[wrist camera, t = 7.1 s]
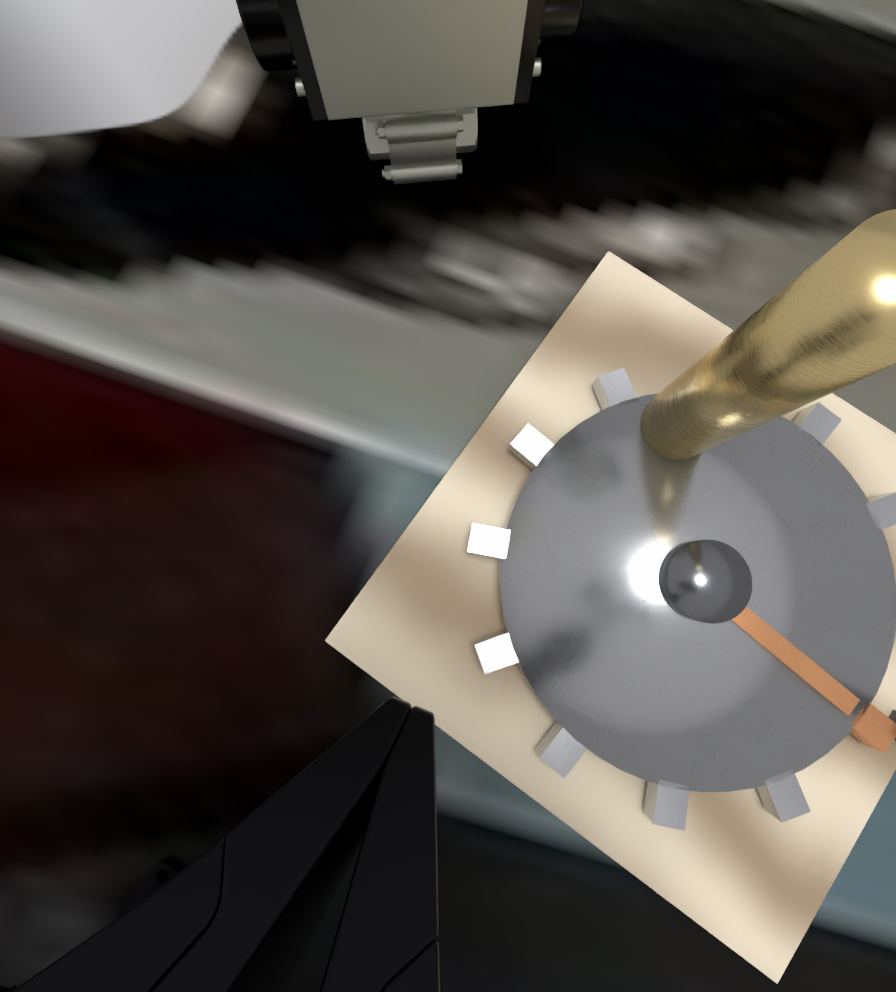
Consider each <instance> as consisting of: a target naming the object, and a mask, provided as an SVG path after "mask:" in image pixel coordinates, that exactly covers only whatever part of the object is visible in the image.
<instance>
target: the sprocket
mask: <svg viewBox="0 0 896 992" xmlns="http://www.w3.org/2000/svg"><path fill="white" fill-rule="evenodd" d="M894 364H896V209H895V210H889V211H885V212H881V213H879V214H877V215H874V216H872V217H871V218H869V219H867V220H866V221H864V222H863V223H862V224H861V225H859V226H858V227H857V228H856V229H854V230H853V231H852V232H851V233H850V234H849V235H847V236H846V237H845V238H844V239H843V240H841V241H840V242H839V243H838V244H837V245H835V246H834V247H833V248H832V249H831V250H829V251H828V252H827V253H826V254H825V255H823V256H822V257H821V258H820V259H819V260H817V261H816V262H815V263H814V264H813V265H811V266H810V267H809V268H808V269H807V270H805V271H804V272H803V273H802V274H801V275H799V276H798V277H797V278H796V279H795V280H794V281H792V282H791V283H790V284H789V285H788V286H786V287H785V288H784V289H783V290H782V291H780V292H779V293H778V294H777V295H776V296H774V297H773V298H772V299H771V300H770V301H768V302H767V303H766V304H765V305H764V306H762V307H761V308H760V309H759V310H758V311H756V312H755V313H754V314H753V315H752V316H750V317H749V318H748V319H747V320H746V321H744V322H743V323H742V324H741V325H740V326H739V327H737V328H736V329H735V330H734V331H733V332H731V333H730V334H729V335H728V336H727V337H725V338H724V339H723V340H722V341H721V342H719V343H718V344H717V345H716V346H715V347H713V348H712V349H711V350H710V351H709V352H707V353H706V354H705V355H704V356H703V357H701V358H700V359H699V360H698V361H697V362H695V363H694V364H693V365H692V366H691V367H689V368H688V369H687V370H686V371H685V372H684V373H682V374H681V375H680V376H679V377H678V378H676V379H675V380H674V381H673V382H672V383H670V384H669V385H668V386H667V387H666V388H664V389H663V390H662V391H661V392H660V393H657V394H650V395H644V396H641V397H636V394H635V392H634V390H633V387H632V385H631V382H630V380H629V378H628V375H627V373H626V371H625V368H621V369H618V370H615V371H612V372H609V373H606V374H603V375H600V376H598V377H597V378H596V380H595V381H594V382H593V384H592V387H593V389H594V391H595V394H596V396H597V399H598V401H599V404H600V406H601V409H602V410H601V411H600V412H598V413H596V414H594V415H593V416H591V417H589V418H588V419H586V420H584V421H582V422H581V423H579V424H578V425H577V426H576V427H574V428H573V429H572V430H570V431H569V432H568V433H567V434H565V435H564V436H563V437H562V438H561V439H560V440H559V441H558V442H557V443H556V444H555V445H554V444H553V443H552V442H551V441H549V440H548V439H547V438H546V437H545V436H543V435H542V434H541V433H540V432H538V431H537V430H536V429H535V428H534V427H532V426H531V425H530V424H529V423H528V424H527V425H526V426H525V427H524V429H523V430H522V431H521V432H520V433H519V434H518V435H517V437H516V438H515V439H514V440H513V441H512V442H511V444H510V445H509V447H508V449H507V450H509V451H510V452H511V453H512V454H513V455H515V456H516V457H517V458H518V459H519V460H521V461H522V462H523V463H524V464H525V465H527V466H528V467H529V468H530V469H531V470H533V471H532V472H531V473H530V475H529V476H528V477H527V479H526V481H525V482H524V484H523V486H522V488H521V490H520V491H519V493H518V495H517V497H516V499H515V501H514V504H513V506H512V509H511V511H510V514H509V517H508V519H507V522H506V526H505V529H502V528H497V527H492V526H486V525H481V524H476V523H472V525H471V530H470V536H469V541H468V547H467V553H472V554H477V555H483V556H488V557H493V558H498V559H499V568H498V575H499V598H500V604H501V611H502V617H503V622H504V625H505V629H506V630H503V631H501V632H498V633H495V634H492V635H490V636H487V637H484V638H481V639H478V640H476V641H474V644H475V647H476V650H477V653H478V656H479V659H480V662H481V665H482V668H483V670H484V673H485V674H488V673H490V672H493V671H496V670H499V669H501V668H504V667H507V666H510V665H512V664H515V663H518V664H519V666H520V668H521V670H522V672H523V674H524V675H525V677H526V679H527V680H528V682H529V684H530V686H531V687H532V689H533V691H534V692H535V694H536V695H537V696H538V698H539V699H540V700H541V702H542V703H543V704H544V706H545V707H546V708H547V709H548V711H549V712H550V713H551V715H552V716H553V717H554V718H555V720H556V722H555V724H554V725H553V726H552V727H551V729H550V730H549V731H548V732H547V734H546V735H545V736H544V738H543V739H542V740H541V741H540V743H539V744H538V745H537V746H536V750H537V752H538V754H539V756H540V758H541V759H542V760H544V761H545V762H546V763H547V764H548V765H549V766H550V767H551V768H553V769H554V770H555V771H556V772H557V773H558V774H559V775H560V776H561V777H563V778H565V777H566V776H567V774H568V773H569V772H570V770H571V769H572V768H573V767H574V765H575V764H576V763H577V761H578V760H579V759H580V757H581V756H582V755H583V754H584V752H585V751H586V750H587V749H588V750H590V751H591V752H592V753H594V754H595V755H596V756H598V757H599V758H601V759H603V760H604V761H606V762H608V763H610V764H611V765H613V766H615V767H616V768H618V769H620V770H622V771H624V772H626V773H629V774H631V775H633V776H636V777H638V778H640V779H643V780H645V781H647V786H646V794H645V802H644V810H643V812H644V813H645V814H646V816H647V817H648V818H649V819H650V821H651V822H652V823H653V824H654V825H659V826H664V827H669V828H674V829H679V830H684V831H685V826H686V817H687V808H688V799H689V791H696V792H731V791H738V790H745V789H751V788H757V791H758V793H759V796H760V798H761V800H762V803H763V805H764V808H765V810H766V811H767V812H768V813H770V814H771V815H772V816H774V817H775V818H776V819H778V820H779V821H780V822H781V823H783V822H786V821H788V820H791V819H794V818H796V817H799V816H801V815H804V814H806V813H809V812H811V811H810V808H809V806H808V804H807V801H806V799H805V797H804V794H803V792H802V789H801V787H800V785H799V782H798V780H797V778H796V775H795V773H797V772H799V771H801V770H803V769H805V768H807V767H808V766H810V765H811V764H813V763H814V762H816V761H817V760H819V759H820V758H822V757H823V756H825V755H826V754H828V753H829V752H830V751H831V750H832V749H833V748H834V747H835V746H836V745H838V744H839V743H840V742H841V741H842V740H843V739H844V738H845V737H846V736H847V735H848V734H849V733H850V734H851V735H853V736H854V737H855V738H856V739H858V740H859V741H860V742H861V743H862V744H864V745H866V746H868V747H871V748H873V749H875V750H878V751H880V752H882V753H885V752H886V751H887V749H888V748H889V747H890V745H891V744H892V742H893V741H894V739H895V738H896V723H895V722H893V721H892V720H891V719H890V718H888V717H887V716H886V715H885V714H883V713H882V712H881V711H880V710H879V709H877V708H876V707H875V706H874V705H872V704H871V702H872V701H873V699H874V697H875V696H876V694H877V692H878V689H879V687H880V685H881V682H882V680H883V678H884V675H885V673H886V671H887V667H888V664H889V660H890V656H891V652H892V649H893V645H894V638H895V634H896V582H895V575H894V567H893V563H892V559H891V555H890V551H889V548H888V544H887V540H886V538H885V535H884V533H883V529H885V528H888V527H891V526H894V525H896V492H892V493H886V494H880V495H877V496H875V497H872V498H869V499H867V497H866V495H865V494H864V492H863V491H862V489H861V488H860V486H859V485H858V484H857V482H856V481H855V479H854V478H853V477H852V475H851V474H850V472H849V471H848V470H847V469H846V468H845V467H844V466H843V465H842V463H841V462H840V461H839V460H838V459H837V458H836V457H835V456H834V455H833V454H832V453H831V452H830V451H829V450H828V449H827V448H826V447H825V446H824V445H823V444H824V442H825V441H826V440H827V438H828V437H829V436H830V435H831V433H832V432H833V431H834V429H835V428H836V427H837V426H838V424H839V423H840V422H841V420H842V419H840V418H839V417H838V416H837V415H835V414H834V413H833V412H831V411H830V410H829V409H827V408H826V407H825V406H823V405H822V404H821V403H819V402H817V403H815V404H813V405H811V406H808V407H806V408H804V409H802V410H801V412H800V413H799V414H798V415H797V417H796V418H795V419H794V420H793V422H791V421H790V420H788V419H786V418H784V417H782V416H783V415H785V414H787V413H789V412H792V411H794V410H796V409H798V408H800V407H803V406H805V405H807V404H809V403H811V402H813V401H816V400H818V399H820V398H822V397H824V396H827V395H829V394H831V393H833V392H835V391H837V390H840V389H842V388H844V387H846V386H848V385H851V384H853V383H855V382H857V381H859V380H861V379H864V378H866V377H868V376H870V375H872V374H875V373H877V372H879V371H881V370H883V369H885V368H888V367H890V366H892V365H894Z"/></svg>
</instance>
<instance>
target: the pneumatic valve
mask: <svg viewBox="0 0 896 992" xmlns="http://www.w3.org/2000/svg"><path fill="white" fill-rule="evenodd" d="M236 3H237V6H238V9H239V13H240V17H241V20H242V23H243V26H244V29H245V32H246V35H247V38H248V40H249V43H250V46H251V48H252V51H253V53H254V55H255V57H256V59H257V61H258V63H259V64H260V66H261V67H262V68H263V69H264V70H265V71H267V72H269V71H280V70H292V69H298V70H299V74H300V77H301V78H295V86H296V91H297V94H298V96H299V97H301V96H306V97H307V100H308V103H309V107H310V110H311V113H312V117H313V120H314V121H326V120H337V119H349V118H360V117H362V119H363V127H364V134H365V141H366V147H367V152H368V157H369V159H371V160H373V161H374V160H385V159H391V164H390V166H384V169H383V170H382V176H383V178H384V177H385V178H386V180H392V181H394V184H406V183H417V182H428V181H440V180H451V179H456V175H458V174H462V160H461V159H459V160H457V159H456V153H466V152H473V151H474V150H476V148H477V140H478V118H477V107H489V106H500V105H512V104H524V103H528V100H529V94H530V88H531V82H532V77H535V76H539V75H540V73H541V59H540V58H536V52H537V49H540V48H552V47H564V46H568V45H569V44H570V43H571V41H572V40H573V38H574V36H575V33H576V31H577V28H578V25H579V21H580V17H581V13H582V8H583V4H584V0H236Z"/></svg>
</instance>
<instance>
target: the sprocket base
mask: <svg viewBox="0 0 896 992" xmlns="http://www.w3.org/2000/svg"><path fill="white" fill-rule="evenodd" d="M731 332H733V330H732V329H730V328H729V327H727V326H726V325H724V324H722V323H721V322H719V321H718V320H716V319H715V318H713V317H711V316H710V315H708V314H707V313H705V312H704V311H702V310H700V309H699V308H697V307H696V306H694V305H693V304H691V303H689V302H688V301H686V300H685V299H683V298H682V297H680V296H678V295H677V294H675V293H674V292H672V291H670V290H669V289H667V288H666V287H664V286H663V285H661V284H659V283H658V282H656V281H655V280H653V279H652V278H650V277H648V276H647V275H645V274H644V273H642V272H641V271H639V270H637V269H636V268H634V267H633V266H631V265H630V264H628V263H626V262H625V261H623V260H622V259H620V258H619V257H617V256H615V255H614V254H612V253H611V252H609V251H608V252H607V254H606V255H605V257H604V258H603V259H602V261H601V262H600V263H599V265H598V266H597V267H596V269H595V270H594V272H593V273H592V274H591V276H590V277H589V278H588V280H587V281H586V283H585V284H584V285H583V287H582V288H581V289H580V291H579V292H578V294H577V295H576V296H575V298H574V299H573V300H572V302H571V303H570V305H569V306H568V307H567V309H566V310H565V311H564V313H563V314H562V316H561V317H560V318H559V320H558V321H557V322H556V324H555V325H554V327H553V328H552V329H551V331H550V332H549V333H548V335H547V336H546V338H545V339H544V340H543V342H542V343H541V344H540V346H539V347H538V349H537V350H536V351H535V353H534V354H533V355H532V357H531V358H530V360H529V361H528V362H527V364H526V365H525V366H524V368H523V369H522V371H521V372H520V373H519V375H518V376H517V377H516V379H515V380H514V381H513V383H512V384H511V386H510V387H509V388H508V390H507V391H506V392H505V394H504V395H503V397H502V398H501V399H500V401H499V402H498V403H497V405H496V406H495V408H494V409H493V410H492V412H491V413H490V414H489V416H488V417H487V419H486V420H485V421H484V423H483V424H482V425H481V427H480V428H479V430H478V431H477V432H476V434H475V435H474V436H473V438H472V439H471V441H470V442H469V443H468V445H467V446H466V447H465V449H464V450H463V452H462V453H461V454H460V456H459V457H458V458H457V460H456V461H455V463H454V464H453V465H452V467H451V468H450V469H449V471H448V472H447V474H446V475H445V476H444V478H443V479H442V480H441V482H440V483H439V485H438V486H437V487H436V489H435V490H434V491H433V493H432V494H431V495H430V497H429V498H428V500H427V501H426V502H425V504H424V505H423V506H422V508H421V509H420V511H419V512H418V513H417V515H416V516H415V517H414V519H413V520H412V522H411V523H410V524H409V526H408V527H407V528H406V530H405V531H404V533H403V534H402V535H401V537H400V538H399V539H398V541H397V542H396V544H395V545H394V546H393V548H392V549H391V550H390V552H389V553H388V555H387V556H386V557H385V559H384V560H383V561H382V563H381V564H380V566H379V567H378V568H377V570H376V571H375V572H374V574H373V575H372V577H371V578H370V579H369V581H368V582H367V583H366V585H365V586H364V588H363V589H362V590H361V592H360V593H359V594H358V596H357V597H356V598H355V600H354V601H353V603H352V604H351V605H350V607H349V608H348V609H347V611H346V612H345V614H344V615H343V616H342V618H341V619H340V620H339V622H338V623H337V625H336V626H335V627H334V629H333V630H332V631H331V633H330V634H329V636H328V637H327V638H326V640H325V641H326V642H327V643H328V644H330V645H331V646H332V647H334V648H335V649H336V650H337V651H339V652H340V653H341V654H343V655H344V656H345V657H347V658H348V659H349V660H351V661H352V662H353V663H355V664H356V665H357V666H359V667H360V668H361V669H363V670H364V671H365V672H367V673H368V674H369V675H370V676H372V677H373V678H374V679H376V680H377V681H378V682H380V683H381V684H382V685H384V686H385V687H386V688H388V689H389V690H390V691H392V692H393V693H394V694H396V695H397V696H398V697H400V698H401V699H402V700H404V701H406V702H409V703H410V704H411V707H413V706H418V707H421V708H423V709H426V710H428V711H431V712H432V713H433V714H434V718H435V725H436V726H438V727H439V728H440V729H442V730H443V731H444V732H446V733H447V734H448V735H450V736H451V737H452V738H454V739H455V740H456V741H458V742H459V743H460V744H462V745H463V746H464V747H465V748H467V749H468V750H469V751H471V752H472V753H473V754H475V755H476V756H477V757H479V758H480V759H481V760H483V761H484V762H485V763H487V764H488V765H489V766H491V767H492V768H493V769H495V770H496V771H497V772H498V773H500V774H501V775H502V776H504V777H505V778H506V779H508V780H509V781H510V782H512V783H513V784H514V785H516V786H517V787H518V788H520V789H521V790H522V791H524V792H525V793H526V794H528V795H529V796H530V797H531V798H533V799H534V800H535V801H537V802H538V803H539V804H541V805H542V806H543V807H545V808H546V809H547V810H549V811H550V812H551V813H553V814H554V815H555V816H557V817H558V818H559V819H560V820H562V821H563V822H564V823H566V824H567V825H568V826H570V827H571V828H572V829H574V830H575V831H576V832H578V833H579V834H580V835H582V836H583V837H584V838H586V839H587V840H588V841H590V842H591V843H592V844H593V845H595V846H596V847H597V848H599V849H600V850H601V851H603V852H604V853H605V854H607V855H608V856H609V857H611V858H612V859H613V860H615V861H616V862H617V863H619V864H620V865H621V866H623V867H624V868H625V869H626V870H628V871H629V872H630V873H632V874H633V875H634V876H636V877H637V878H638V879H640V880H641V881H642V882H644V883H645V884H646V885H648V886H649V887H650V888H652V889H653V890H654V891H655V892H657V893H658V894H659V895H661V896H662V897H663V898H665V899H666V900H667V901H669V902H670V903H671V904H673V905H674V906H675V907H677V908H678V909H679V910H681V911H682V912H683V913H685V914H686V915H687V916H688V917H690V918H691V919H692V920H694V921H695V922H696V923H698V924H699V925H700V926H702V927H703V928H704V929H706V930H707V931H708V932H710V933H711V934H712V935H714V936H715V937H716V938H718V939H719V940H720V941H721V942H723V943H724V944H725V945H727V946H728V947H729V948H731V949H732V950H733V951H735V952H736V953H737V954H739V955H740V956H741V957H743V958H744V959H745V960H747V961H748V962H749V963H750V964H752V965H753V966H754V967H756V968H757V969H758V970H760V971H761V972H762V973H764V974H765V975H766V976H768V977H769V978H770V979H772V980H773V981H774V982H776V983H777V984H778V982H779V980H780V978H781V976H782V975H783V973H784V971H785V969H786V967H787V966H788V964H789V962H790V960H791V958H792V956H793V955H794V953H795V951H796V949H797V947H798V946H799V944H800V942H801V940H802V938H803V937H804V935H805V933H806V931H807V929H808V927H809V926H810V924H811V922H812V920H813V918H814V917H815V915H816V913H817V911H818V909H819V907H820V906H821V904H822V902H823V900H824V898H825V897H826V895H827V893H828V891H829V889H830V888H831V886H832V884H833V882H834V880H835V878H836V877H837V875H838V873H839V871H840V869H841V868H842V866H843V864H844V862H845V860H846V859H847V857H848V855H849V853H850V851H851V849H852V848H853V846H854V844H855V842H856V840H857V839H858V837H859V835H860V833H861V831H862V830H863V828H864V826H865V824H866V822H867V820H868V819H869V817H870V815H871V813H872V811H873V810H874V808H875V806H876V804H877V802H878V800H879V799H880V797H881V795H882V793H883V791H884V790H885V788H886V786H887V784H888V782H889V781H890V779H891V777H892V775H893V773H894V771H895V770H896V738H895V739H894V741H893V742H892V744H891V745H890V747H889V748H888V749H887V751H886V752H885V753H882V752H880V751H878V750H875V749H873V748H871V747H868V746H866V745H864V744H862V743H861V742H860V741H859V740H858V739H856V738H855V737H854V736H853V735H851V734H850V733H849V734H848V735H847V736H846V737H845V738H844V739H843V740H842V741H841V742H840V743H839V744H838V745H836V746H835V747H834V748H833V749H832V750H831V751H830V752H829V753H828V754H826V755H825V756H823V757H822V758H820V759H819V760H817V761H816V762H814V763H813V764H811V765H810V766H808V767H807V768H805V769H803V770H801V771H799V772H797V773H795V775H796V778H797V780H798V782H799V785H800V787H801V789H802V792H803V794H804V797H805V799H806V801H807V804H808V806H809V808H810V811H811V812H809V813H806V814H804V815H801V816H799V817H796V818H794V819H791V820H788V821H786V822H783V823H781V822H780V821H779V820H778V819H776V818H775V817H774V816H772V815H771V814H770V813H768V812H767V811H766V810H765V808H764V805H763V803H762V800H761V798H760V796H759V793H758V791H757V788H751V789H745V790H738V791H731V792H696V791H689V799H688V808H687V817H686V826H685V831H684V830H679V829H674V828H669V827H664V826H659V825H654V824H653V823H652V822H651V821H650V819H649V818H648V817H647V816H646V814H645V813H644V812H643V810H644V802H645V794H646V786H647V781H645V780H643V779H640V778H638V777H636V776H633V775H631V774H629V773H626V772H624V771H622V770H620V769H618V768H616V767H615V766H613V765H611V764H610V763H608V762H606V761H604V760H603V759H601V758H599V757H598V756H596V755H595V754H594V753H592V752H591V751H590V750H588V749H587V750H586V751H585V752H584V754H583V755H582V756H581V757H580V759H579V760H578V761H577V763H576V764H575V765H574V767H573V768H572V769H571V770H570V772H569V773H568V774H567V776H566V777H565V778H563V777H561V776H560V775H559V774H558V773H557V772H556V771H555V770H554V769H553V768H551V767H550V766H549V765H548V764H547V763H546V762H545V761H544V760H542V759H541V758H540V756H539V754H538V752H537V750H536V746H537V745H538V744H539V743H540V741H541V740H542V739H543V738H544V736H545V735H546V734H547V732H548V731H549V730H550V729H551V727H552V726H553V725H554V724H555V722H556V720H555V718H554V717H553V716H552V715H551V713H550V712H549V711H548V709H547V708H546V707H545V706H544V704H543V703H542V702H541V700H540V699H539V698H538V696H537V695H536V694H535V692H534V691H533V689H532V687H531V686H530V684H529V682H528V680H527V679H526V677H525V675H524V674H523V672H522V670H521V668H520V666H519V664H518V663H515V664H512V665H510V666H507V667H504V668H501V669H499V670H496V671H493V672H490V673H488V674H485V673H484V670H483V668H482V665H481V662H480V659H479V656H478V653H477V650H476V647H475V644H474V641H476V640H478V639H481V638H484V637H487V636H490V635H492V634H495V633H498V632H501V631H503V630H506V629H505V625H504V622H503V617H502V611H501V604H500V598H499V575H498V568H499V559H498V558H493V557H488V556H483V555H477V554H472V553H467V547H468V541H469V536H470V530H471V525H472V523H476V524H481V525H486V526H492V527H497V528H502V529H505V526H506V522H507V519H508V517H509V514H510V511H511V509H512V506H513V504H514V501H515V499H516V497H517V495H518V493H519V491H520V490H521V488H522V486H523V484H524V482H525V481H526V479H527V477H528V476H529V475H530V473H531V472H532V471H533V470H531V469H530V468H529V467H528V466H527V465H525V464H524V463H523V462H522V461H521V460H519V459H518V458H517V457H516V456H515V455H513V454H512V453H511V452H510V451H509V450H507V449H508V447H509V445H510V444H511V442H512V441H513V440H514V439H515V438H516V437H517V435H518V434H519V433H520V432H521V431H522V430H523V429H524V427H525V426H526V425H527V424H528V423H529V424H530V425H531V426H532V427H534V428H535V429H536V430H537V431H538V432H540V433H541V434H542V435H543V436H545V437H546V438H547V439H548V440H549V441H551V442H552V443H553V444H554V445H555V444H556V443H557V442H558V441H559V440H560V439H561V438H562V437H563V436H564V435H565V434H567V433H568V432H569V431H570V430H572V429H573V428H574V427H576V426H577V425H578V424H579V423H581V422H582V421H584V420H586V419H588V418H589V417H591V416H593V415H594V414H596V413H598V412H600V411H601V410H602V409H601V406H600V404H599V401H598V399H597V396H596V394H595V391H594V389H593V387H592V384H593V382H594V381H595V380H596V378H597V377H598V376H600V375H603V374H606V373H609V372H612V371H615V370H618V369H621V368H625V371H626V373H627V375H628V378H629V380H630V382H631V385H632V387H633V390H634V392H635V394H636V397H641V396H644V395H650V394H657V393H660V392H661V391H662V390H663V389H664V388H666V387H667V386H668V385H669V384H670V383H672V382H673V381H674V380H675V379H676V378H678V377H679V376H680V375H681V374H682V373H684V372H685V371H686V370H687V369H688V368H689V367H691V366H692V365H693V364H694V363H695V362H697V361H698V360H699V359H700V358H701V357H703V356H704V355H705V354H706V353H707V352H709V351H710V350H711V349H712V348H713V347H715V346H716V345H717V344H718V343H719V342H721V341H722V340H723V339H724V338H725V337H727V336H728V335H729V334H730V333H731ZM817 402H819V403H821V404H822V405H823V406H825V407H826V408H827V409H829V410H830V411H831V412H833V413H834V414H835V415H837V416H838V417H839V418H840V419H842V420H841V422H840V423H839V424H838V426H837V427H836V428H835V429H834V431H833V432H832V433H831V435H830V436H829V437H828V438H827V440H826V441H825V442H824V444H823V445H824V446H825V447H826V448H827V449H828V450H829V451H830V452H831V453H832V454H833V455H834V456H835V457H836V458H837V459H838V460H839V461H840V462H841V463H842V465H843V466H844V467H845V468H846V469H847V470H848V471H849V472H850V474H851V475H852V477H853V478H854V479H855V481H856V482H857V484H858V485H859V486H860V488H861V489H862V491H863V492H864V494H865V495H866V497H867V499H869V498H872V497H875V496H877V495H880V494H886V493H892V492H896V433H894V432H892V431H891V430H889V429H888V428H886V427H885V426H883V425H881V424H880V423H878V422H877V421H875V420H874V419H872V418H870V417H869V416H867V415H866V414H864V413H863V412H861V411H859V410H858V409H856V408H855V407H853V406H852V405H850V404H848V403H847V402H845V401H844V400H842V399H841V398H839V397H837V396H836V395H834V394H833V393H831V394H829V395H827V396H824V397H822V398H820V399H818V400H816V401H813V402H811V403H809V404H807V405H805V406H803V407H800V408H798V409H796V410H794V411H792V412H789V413H787V414H785V415H783V416H782V417H784V418H786V419H788V420H790V421H791V422H793V420H794V419H795V418H796V417H797V415H798V414H799V413H800V412H801V410H802V409H804V408H806V407H808V406H811V405H813V404H815V403H817ZM883 533H884V535H885V538H886V540H887V544H888V548H889V551H890V555H891V559H892V563H893V567H894V575H895V582H896V525H894V526H891V527H888V528H885V529H883ZM871 704H872V705H874V706H875V707H876V708H877V709H879V710H880V711H881V712H882V713H883V714H885V715H886V716H887V717H888V718H890V719H891V720H892V721H893V722H895V723H896V634H895V638H894V645H893V649H892V652H891V656H890V660H889V664H888V667H887V671H886V673H885V675H884V678H883V680H882V682H881V685H880V687H879V689H878V692H877V694H876V696H875V697H874V699H873V701H872V702H871Z"/></svg>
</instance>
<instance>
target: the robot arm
mask: <svg viewBox="0 0 896 992" xmlns="http://www.w3.org/2000/svg"><path fill="white" fill-rule="evenodd" d="M363 837H364V838H363ZM362 839H363V841H362ZM361 841H362V845H361V848H360V852H359V855H358V859H357V862H356V866H355V869H354V873H353V876H352V880H351V883H350V887H349V890H348V894H347V897H346V901H345V904H344V908H343V911H342V915H341V918H340V922H339V925H338V929H337V932H336V936H335V939H334V943H333V946H332V950H331V953H330V957H329V960H328V964H327V967H326V971H325V974H324V978H323V981H322V985H321V988H320V992H440V978H439V944H438V942H437V939H438V883H437V827H436V771H435V718H434V714H433V713H432V712H431V711H428V710H426V709H423V708H421V707H418V706H413V707H411V704H410V703H409V702H406V701H404V700H401V699H399V698H396V697H390V698H388V699H387V700H386V701H384V702H383V703H382V704H381V705H380V706H378V707H377V708H376V709H375V710H374V711H372V712H371V713H370V714H369V715H368V716H367V717H365V718H364V719H363V720H362V721H361V722H359V723H358V724H357V725H356V726H355V727H353V728H352V729H351V730H350V731H349V732H347V733H346V734H345V735H344V736H343V737H341V738H340V739H339V740H338V741H337V742H336V743H334V744H333V745H332V746H331V747H330V748H328V749H327V750H326V751H325V752H324V753H322V754H321V755H320V756H319V757H318V758H316V759H315V760H314V761H313V762H312V763H310V764H309V765H308V766H307V767H306V768H305V769H303V770H302V771H301V772H300V773H299V774H297V775H296V776H295V777H294V778H293V779H291V780H290V781H289V782H288V783H287V784H285V785H284V786H283V787H282V788H281V789H279V790H278V791H277V792H276V793H275V794H274V795H272V796H271V797H270V798H269V799H268V800H266V801H265V802H264V803H263V804H262V805H260V806H259V807H258V808H257V809H256V810H254V811H253V812H252V813H251V814H250V815H248V816H247V817H246V818H245V819H244V820H243V821H241V822H240V823H239V824H238V825H237V826H235V827H234V828H233V829H232V830H231V831H229V832H228V833H227V834H226V836H225V840H224V839H223V838H221V839H220V840H218V841H217V842H216V843H215V844H214V845H212V846H211V847H210V848H209V849H208V850H206V851H205V852H204V853H203V854H202V855H200V856H199V857H198V858H197V859H196V860H194V861H193V862H192V863H191V864H189V865H188V866H187V867H186V868H185V867H183V866H182V865H181V864H180V863H179V862H177V861H176V860H175V859H173V858H164V859H162V860H161V861H160V862H159V863H158V864H157V865H156V866H155V867H154V868H153V869H152V870H151V872H150V873H149V874H148V876H147V877H146V878H145V880H144V881H143V883H142V884H141V885H140V887H139V888H138V889H137V891H136V892H135V893H134V895H133V896H132V898H131V899H130V900H129V902H128V903H127V904H126V906H125V907H124V909H123V910H122V911H121V913H120V914H119V915H118V917H117V918H116V920H114V921H113V922H112V923H110V924H109V925H107V926H106V927H104V928H103V929H101V930H100V931H99V932H97V933H96V934H94V935H93V936H91V937H90V938H88V939H87V940H86V941H84V942H83V943H81V944H80V945H78V946H77V947H75V948H74V949H73V950H71V951H70V952H68V953H67V954H65V955H64V956H62V957H61V958H59V959H58V960H57V961H55V962H54V963H52V964H51V965H49V966H48V967H46V968H45V969H44V970H42V971H41V972H39V973H38V974H36V975H35V976H33V977H32V978H30V979H28V980H27V981H25V982H24V983H22V984H21V985H19V986H18V987H16V986H15V985H14V986H13V987H12V988H8V987H2V986H0V992H283V990H284V988H285V986H286V985H287V983H288V981H289V979H290V977H291V975H292V973H293V971H294V969H295V967H296V965H297V964H298V962H299V960H300V958H301V956H302V954H303V952H304V950H305V948H306V946H307V945H308V943H309V941H310V939H311V937H312V935H313V933H314V931H315V929H316V927H317V925H318V924H319V922H320V920H321V918H322V916H323V914H324V912H325V910H326V908H327V906H328V904H329V903H330V901H331V899H332V897H333V895H334V893H335V891H336V889H337V887H338V885H339V883H340V882H341V880H342V878H343V876H344V874H345V872H346V870H347V868H348V866H349V864H350V862H351V861H352V859H353V857H354V855H355V853H356V851H357V849H358V847H359V845H360V843H361ZM161 870H165V871H167V873H168V877H167V878H166V877H164V876H163V875H162V872H161Z"/></svg>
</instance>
